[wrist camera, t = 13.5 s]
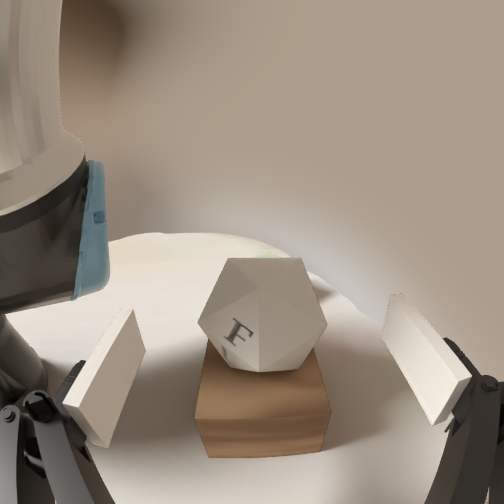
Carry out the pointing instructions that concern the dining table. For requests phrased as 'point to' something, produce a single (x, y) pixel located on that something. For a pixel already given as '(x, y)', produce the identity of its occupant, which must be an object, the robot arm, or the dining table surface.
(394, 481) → the dining table surface
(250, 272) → the die
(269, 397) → the plinth
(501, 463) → the robot arm
